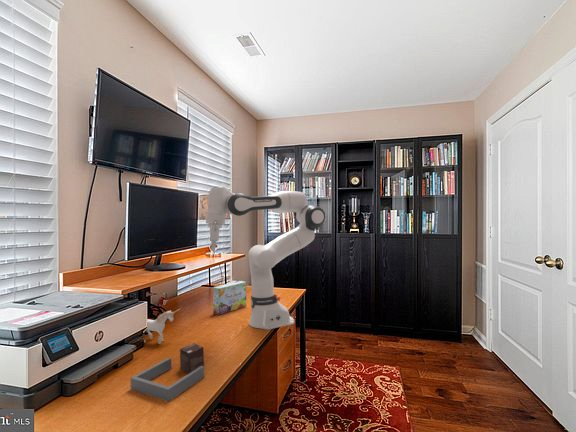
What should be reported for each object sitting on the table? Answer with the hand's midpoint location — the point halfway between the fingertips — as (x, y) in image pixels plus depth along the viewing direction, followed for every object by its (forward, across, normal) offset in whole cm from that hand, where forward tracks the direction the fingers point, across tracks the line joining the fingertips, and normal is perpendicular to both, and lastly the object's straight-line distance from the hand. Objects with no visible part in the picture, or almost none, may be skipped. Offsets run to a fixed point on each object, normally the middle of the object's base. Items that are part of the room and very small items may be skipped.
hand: (213, 249), depth 145 cm
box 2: (+40, -34, +4) cm, 52 cm away
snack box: (+38, +33, -13) cm, 52 cm away
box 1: (+40, -41, +11) cm, 58 cm away
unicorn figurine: (+41, -2, +20) cm, 46 cm away
